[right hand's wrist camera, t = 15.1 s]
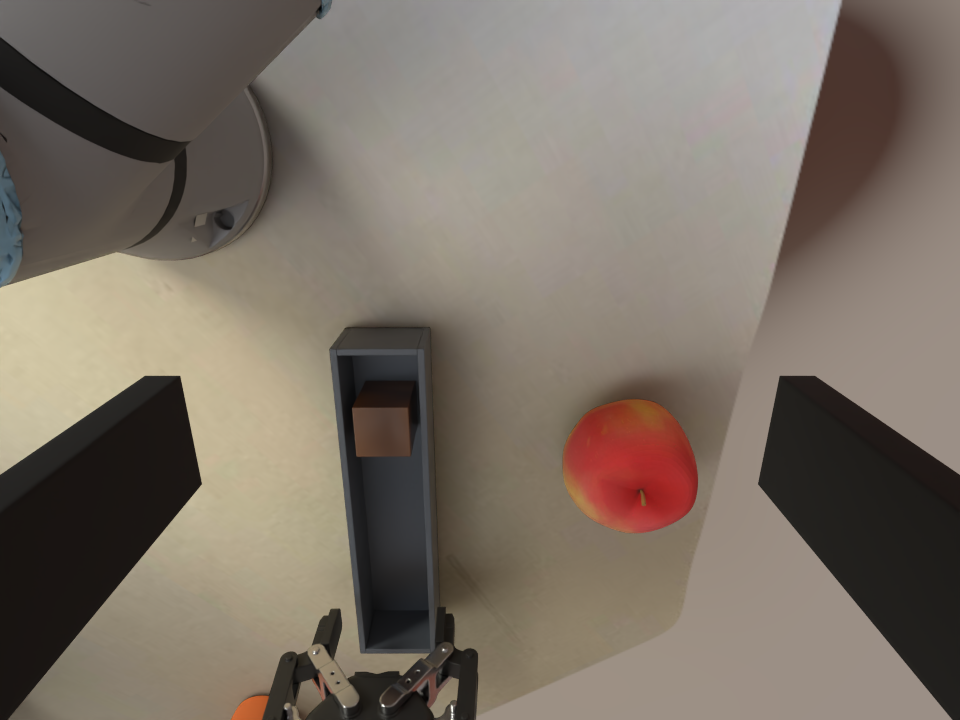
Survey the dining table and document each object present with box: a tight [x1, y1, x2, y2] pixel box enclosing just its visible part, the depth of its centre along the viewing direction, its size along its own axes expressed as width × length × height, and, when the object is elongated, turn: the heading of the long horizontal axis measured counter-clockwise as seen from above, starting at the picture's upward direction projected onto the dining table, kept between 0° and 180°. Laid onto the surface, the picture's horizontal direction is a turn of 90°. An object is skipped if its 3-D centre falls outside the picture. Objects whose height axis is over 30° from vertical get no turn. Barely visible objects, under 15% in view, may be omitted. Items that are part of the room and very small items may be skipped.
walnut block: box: [352, 381, 418, 457], centre depth 43 cm, size 4×4×5 cm
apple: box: [563, 399, 698, 533], centre depth 42 cm, size 10×10×10 cm
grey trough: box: [329, 328, 440, 653], centre depth 46 cm, size 7×28×5 cm, turn 0°
